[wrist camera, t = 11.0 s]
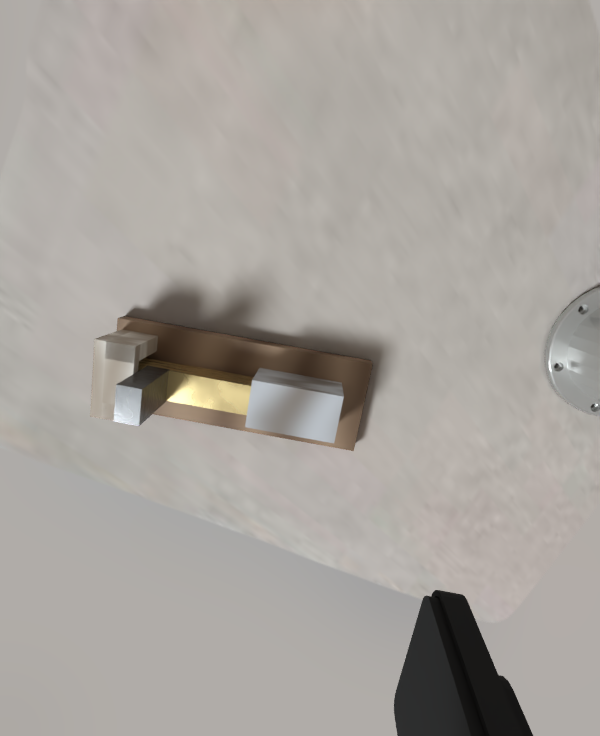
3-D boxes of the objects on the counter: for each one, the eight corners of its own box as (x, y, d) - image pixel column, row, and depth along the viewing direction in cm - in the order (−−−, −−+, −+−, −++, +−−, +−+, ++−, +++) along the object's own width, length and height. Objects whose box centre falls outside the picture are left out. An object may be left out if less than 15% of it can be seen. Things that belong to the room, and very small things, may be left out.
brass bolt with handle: (288, 382, 41) (279, 414, 33) (283, 412, 42) (273, 450, 34) (132, 354, 41) (83, 378, 33) (130, 384, 42) (81, 415, 34)
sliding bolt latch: (371, 360, 43) (379, 379, 36) (352, 444, 45) (357, 476, 38) (124, 316, 43) (89, 326, 36) (118, 401, 45) (84, 425, 39)
